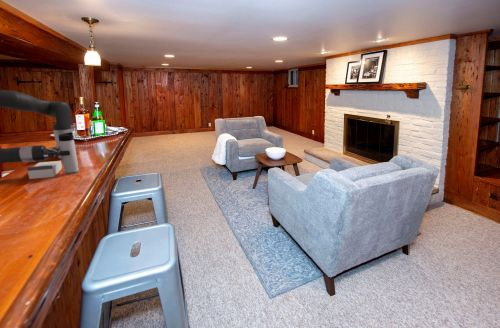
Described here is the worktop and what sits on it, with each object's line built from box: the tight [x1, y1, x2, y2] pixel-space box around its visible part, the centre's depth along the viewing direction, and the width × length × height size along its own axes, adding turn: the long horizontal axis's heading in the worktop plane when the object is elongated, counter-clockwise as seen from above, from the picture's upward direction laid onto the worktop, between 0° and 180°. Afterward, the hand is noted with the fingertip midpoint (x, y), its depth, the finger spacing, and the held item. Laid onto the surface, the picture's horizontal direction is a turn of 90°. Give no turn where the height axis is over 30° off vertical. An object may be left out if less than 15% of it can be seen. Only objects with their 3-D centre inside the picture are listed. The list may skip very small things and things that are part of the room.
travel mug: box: [58, 131, 80, 175], centre depth 148 cm, size 6×7×20 cm
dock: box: [26, 160, 63, 180], centre depth 149 cm, size 16×10×6 cm, turn 19°
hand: (71, 151), depth 148 cm, fingers open, 8 cm apart
